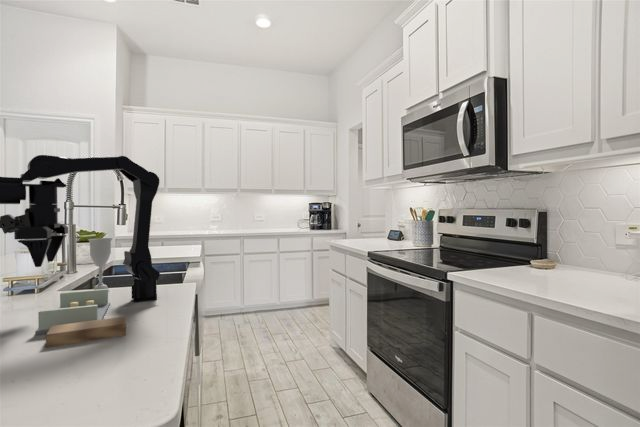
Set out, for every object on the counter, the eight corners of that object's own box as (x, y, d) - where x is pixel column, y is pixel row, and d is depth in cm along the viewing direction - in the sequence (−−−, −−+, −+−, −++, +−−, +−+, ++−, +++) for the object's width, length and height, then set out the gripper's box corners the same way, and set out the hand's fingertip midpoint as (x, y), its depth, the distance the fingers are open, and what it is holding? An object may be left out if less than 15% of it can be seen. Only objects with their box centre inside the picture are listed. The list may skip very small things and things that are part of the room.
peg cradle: (110, 305, 98) (110, 288, 98) (99, 326, 80) (99, 305, 80) (59, 310, 93) (59, 292, 93) (35, 334, 75) (35, 312, 75)
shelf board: (126, 328, 80) (126, 316, 80) (125, 336, 75) (125, 323, 75) (52, 339, 73) (52, 325, 73) (46, 349, 68) (46, 334, 68)
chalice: (96, 289, 117) (96, 238, 117) (116, 289, 118) (116, 238, 118) (83, 294, 110) (83, 240, 110) (105, 294, 111) (105, 239, 110)
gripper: (19, 204, 93) (20, 261, 93) (-16, 203, 76) (-15, 272, 76) (68, 204, 97) (69, 258, 98) (45, 203, 80) (47, 269, 81)
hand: (44, 264), depth 88 cm, fingers open, 9 cm apart
